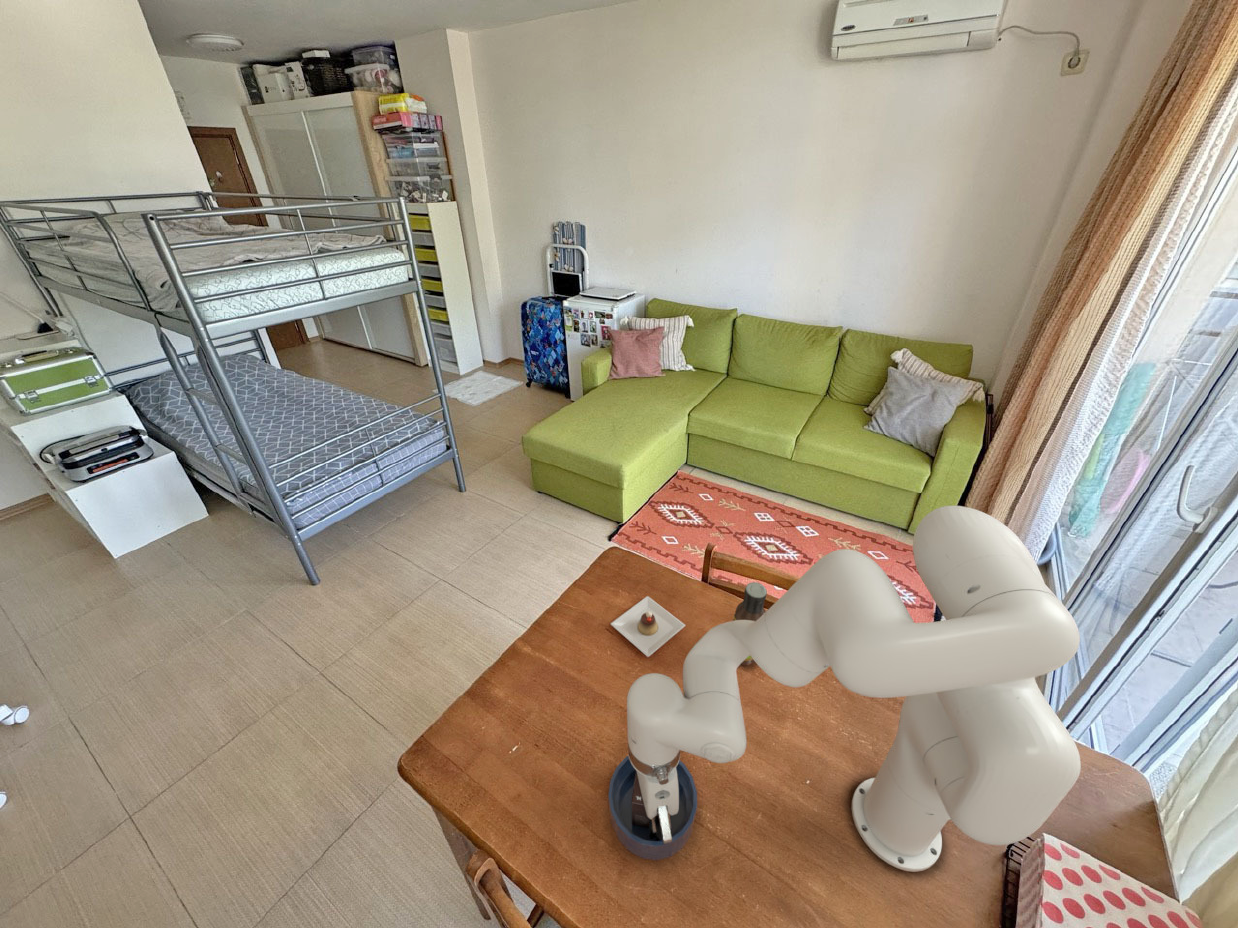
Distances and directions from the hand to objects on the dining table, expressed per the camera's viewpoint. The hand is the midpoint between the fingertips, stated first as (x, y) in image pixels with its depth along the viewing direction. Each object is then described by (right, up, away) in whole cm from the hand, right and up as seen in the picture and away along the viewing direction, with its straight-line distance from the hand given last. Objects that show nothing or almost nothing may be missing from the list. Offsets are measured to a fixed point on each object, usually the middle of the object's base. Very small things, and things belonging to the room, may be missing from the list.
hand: (652, 803), depth 79 cm
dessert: (+1, +18, +32) cm, 36 cm away
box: (0, -1, +1) cm, 2 cm away
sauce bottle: (+21, +14, +26) cm, 36 cm away
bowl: (0, -2, +1) cm, 2 cm away
